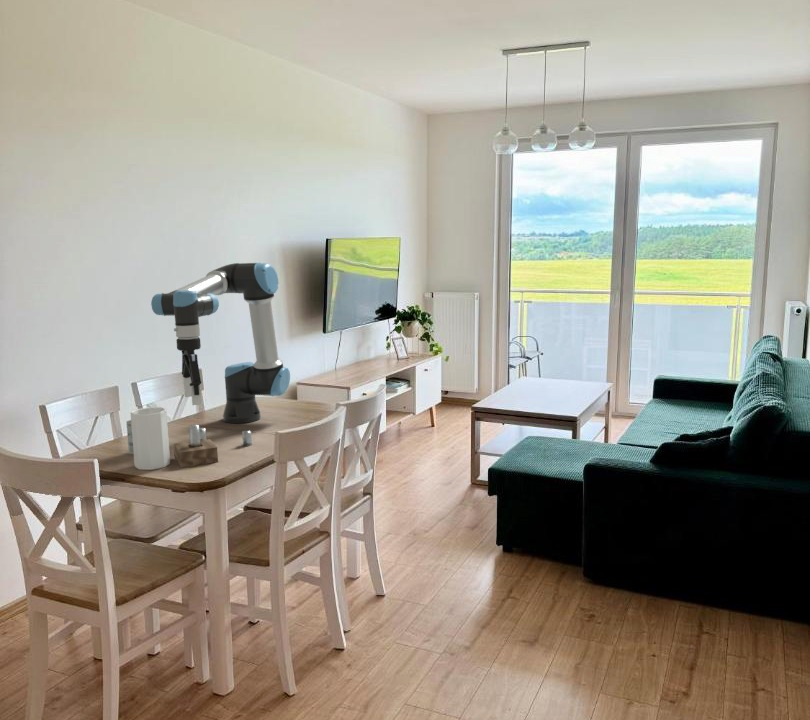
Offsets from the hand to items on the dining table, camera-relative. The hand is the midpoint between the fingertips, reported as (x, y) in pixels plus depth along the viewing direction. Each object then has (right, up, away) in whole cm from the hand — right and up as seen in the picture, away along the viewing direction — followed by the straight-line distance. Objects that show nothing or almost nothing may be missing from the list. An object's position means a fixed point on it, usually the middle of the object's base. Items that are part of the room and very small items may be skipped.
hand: (192, 400), depth 250 cm
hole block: (0, -20, +3) cm, 20 cm away
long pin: (0, -20, +3) cm, 20 cm away
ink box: (-21, -19, +13) cm, 31 cm away
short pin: (+14, -17, +21) cm, 30 cm away
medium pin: (0, -18, +14) cm, 23 cm away
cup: (-13, -22, -2) cm, 25 cm away
